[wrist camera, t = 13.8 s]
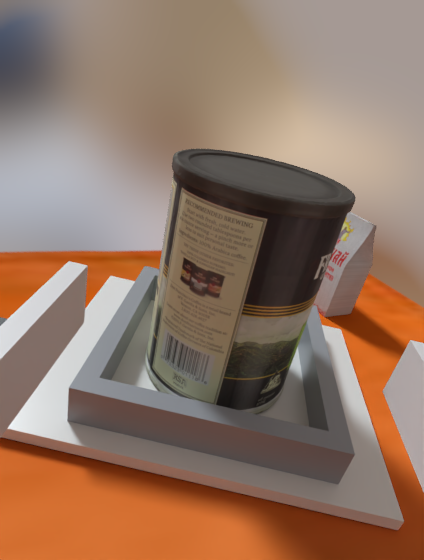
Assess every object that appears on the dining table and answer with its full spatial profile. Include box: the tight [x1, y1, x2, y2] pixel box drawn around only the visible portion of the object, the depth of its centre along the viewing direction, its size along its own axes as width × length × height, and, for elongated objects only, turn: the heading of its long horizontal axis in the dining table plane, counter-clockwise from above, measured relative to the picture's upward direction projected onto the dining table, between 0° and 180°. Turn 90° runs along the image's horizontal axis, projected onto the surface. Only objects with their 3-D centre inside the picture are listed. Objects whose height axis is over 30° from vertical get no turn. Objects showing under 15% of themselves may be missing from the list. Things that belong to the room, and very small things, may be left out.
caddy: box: [2, 266, 404, 530], centre depth 28 cm, size 22×18×3 cm
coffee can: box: [145, 149, 355, 414], centre depth 25 cm, size 10×10×14 cm
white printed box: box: [313, 212, 376, 317], centre depth 41 cm, size 4×7×10 cm, turn 25°
